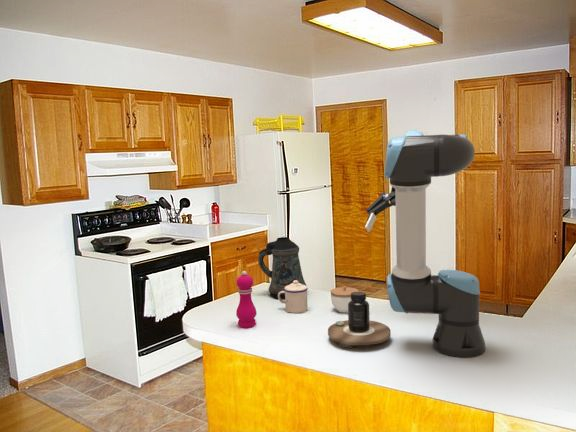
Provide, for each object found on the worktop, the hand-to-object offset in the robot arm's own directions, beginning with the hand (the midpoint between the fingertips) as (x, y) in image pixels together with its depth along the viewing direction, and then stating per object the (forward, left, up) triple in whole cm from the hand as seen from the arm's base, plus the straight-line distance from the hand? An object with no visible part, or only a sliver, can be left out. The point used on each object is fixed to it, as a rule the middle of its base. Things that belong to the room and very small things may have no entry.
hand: (383, 230), depth 173 cm
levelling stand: (-2, +20, -33) cm, 38 cm away
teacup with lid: (+36, +9, -33) cm, 50 cm away
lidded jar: (+19, -2, -33) cm, 38 cm away
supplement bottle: (-2, +20, -30) cm, 35 cm away
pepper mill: (+38, +32, -33) cm, 59 cm away
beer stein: (+52, -4, -33) cm, 62 cm away
